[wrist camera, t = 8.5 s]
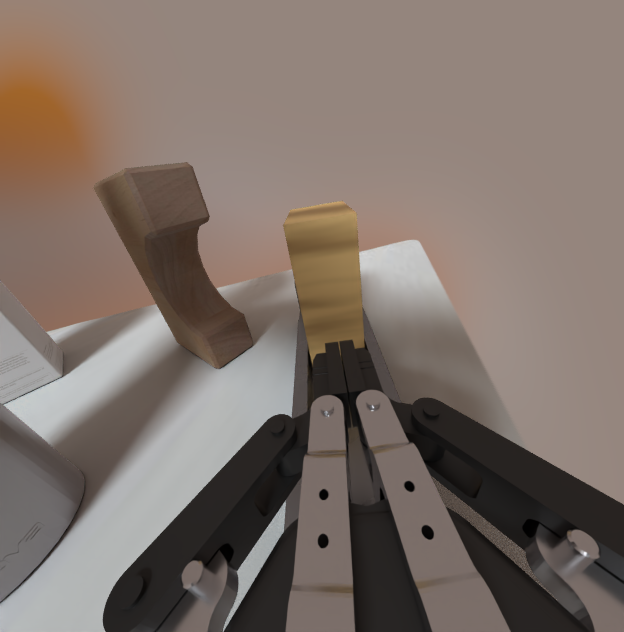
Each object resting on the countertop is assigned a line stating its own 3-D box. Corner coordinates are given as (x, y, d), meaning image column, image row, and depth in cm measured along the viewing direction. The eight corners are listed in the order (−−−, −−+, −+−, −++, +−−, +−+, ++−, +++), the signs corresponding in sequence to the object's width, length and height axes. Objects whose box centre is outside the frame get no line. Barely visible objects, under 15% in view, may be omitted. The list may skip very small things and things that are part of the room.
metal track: (468, 578, 12) (500, 518, 8) (282, 590, 12) (244, 539, 9) (364, 314, 33) (361, 268, 30) (299, 323, 34) (289, 279, 30)
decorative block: (256, 345, 31) (193, 160, 21) (216, 372, 28) (118, 168, 18) (213, 323, 38) (149, 177, 28) (177, 343, 34) (90, 184, 24)
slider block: (366, 368, 23) (356, 213, 16) (314, 374, 24) (283, 225, 17) (352, 323, 30) (342, 200, 23) (313, 329, 31) (290, 209, 24)
